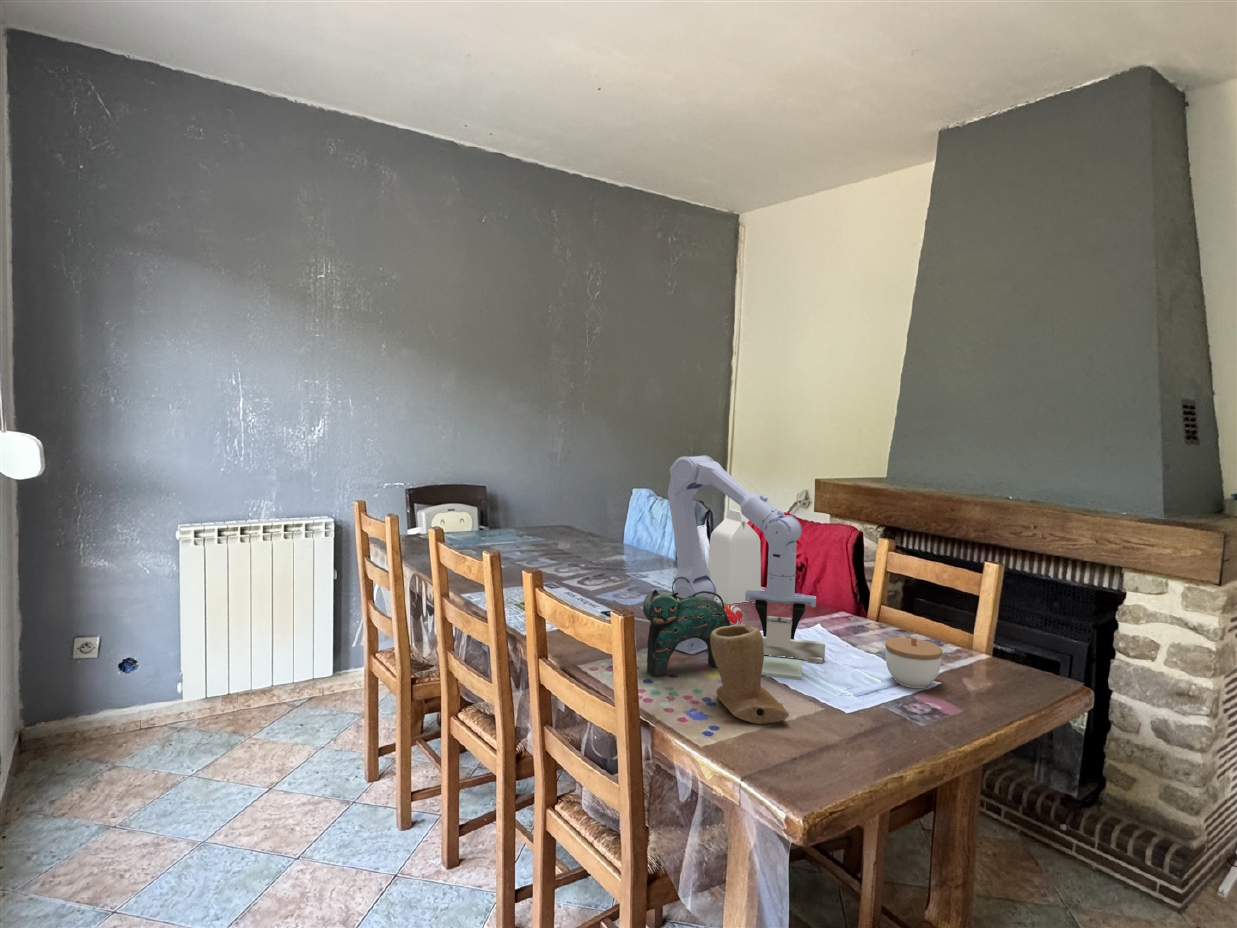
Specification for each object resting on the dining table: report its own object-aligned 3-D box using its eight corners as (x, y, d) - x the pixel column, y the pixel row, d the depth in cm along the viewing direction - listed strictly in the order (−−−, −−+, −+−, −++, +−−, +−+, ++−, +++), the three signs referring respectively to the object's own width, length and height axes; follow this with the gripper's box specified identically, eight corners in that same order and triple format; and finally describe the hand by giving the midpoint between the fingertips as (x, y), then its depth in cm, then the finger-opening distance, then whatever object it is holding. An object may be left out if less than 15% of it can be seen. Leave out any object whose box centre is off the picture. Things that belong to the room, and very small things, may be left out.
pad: (801, 662, 153) (801, 660, 153) (801, 679, 143) (801, 676, 143) (754, 657, 155) (754, 655, 155) (751, 673, 146) (751, 670, 145)
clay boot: (700, 693, 134) (703, 617, 133) (760, 692, 136) (763, 616, 135) (723, 729, 119) (726, 643, 118) (789, 726, 121) (793, 642, 120)
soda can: (746, 630, 172) (744, 648, 161) (718, 631, 174) (713, 649, 163) (743, 602, 172) (740, 618, 160) (715, 603, 174) (709, 619, 162)
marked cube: (790, 640, 151) (791, 617, 150) (790, 648, 146) (791, 624, 146) (766, 638, 152) (767, 615, 152) (765, 645, 147) (766, 621, 147)
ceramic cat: (648, 680, 141) (651, 582, 139) (635, 668, 147) (638, 574, 145) (733, 669, 148) (737, 576, 147) (718, 658, 154) (721, 569, 153)
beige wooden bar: (823, 658, 156) (824, 640, 156) (824, 664, 152) (825, 646, 152) (733, 648, 161) (734, 631, 161) (732, 653, 157) (732, 636, 157)
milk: (705, 594, 209) (708, 508, 207) (737, 591, 214) (740, 507, 212) (727, 605, 198) (731, 514, 196) (760, 601, 203) (764, 512, 201)
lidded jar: (872, 675, 146) (874, 632, 146) (912, 670, 150) (915, 627, 149) (910, 695, 136) (912, 648, 136) (952, 689, 140) (955, 643, 139)
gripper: (816, 572, 150) (813, 634, 151) (747, 567, 153) (745, 627, 154) (817, 579, 143) (814, 644, 144) (745, 573, 146) (743, 637, 147)
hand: (778, 636), depth 149 cm, fingers closed on marked cube, 5 cm apart
